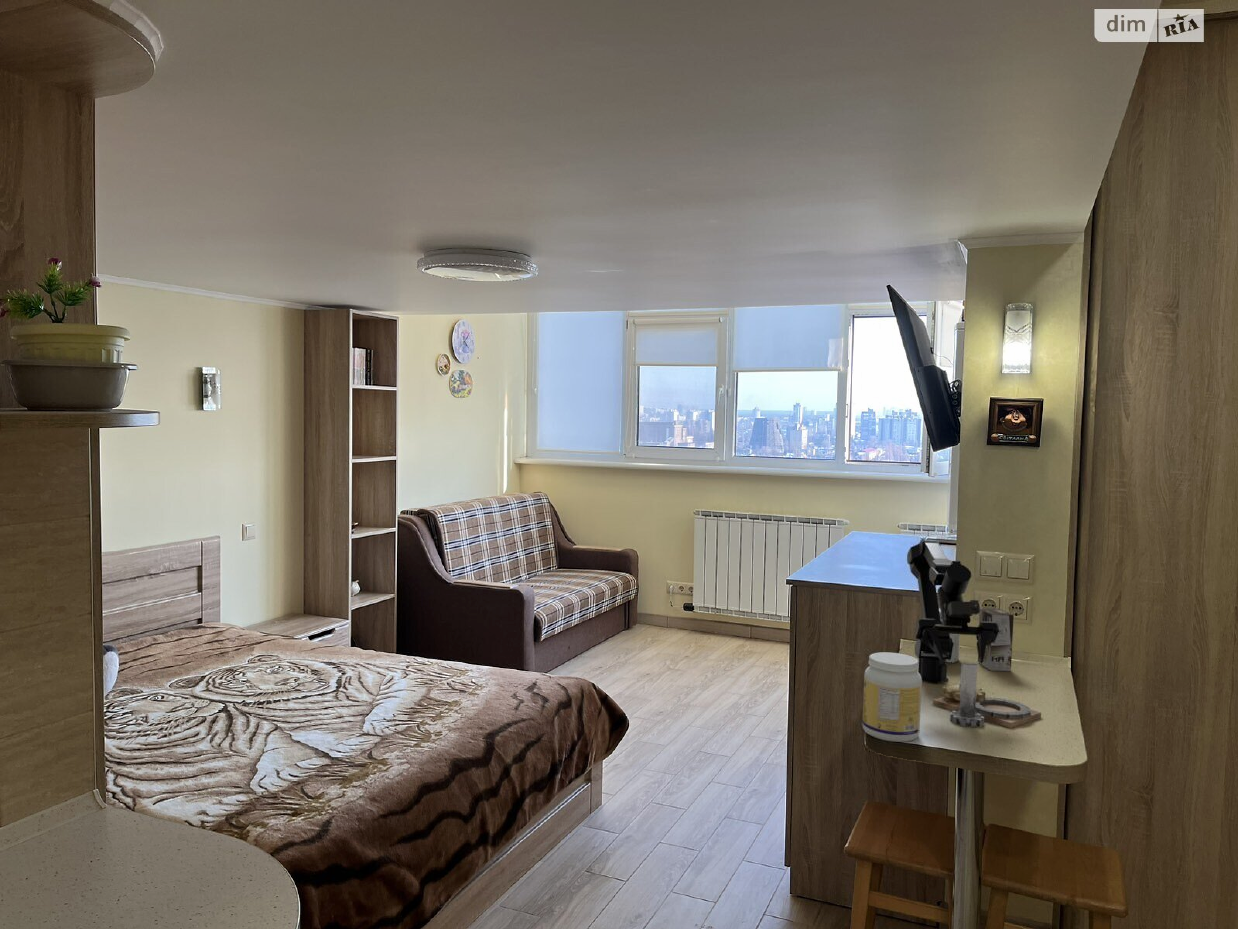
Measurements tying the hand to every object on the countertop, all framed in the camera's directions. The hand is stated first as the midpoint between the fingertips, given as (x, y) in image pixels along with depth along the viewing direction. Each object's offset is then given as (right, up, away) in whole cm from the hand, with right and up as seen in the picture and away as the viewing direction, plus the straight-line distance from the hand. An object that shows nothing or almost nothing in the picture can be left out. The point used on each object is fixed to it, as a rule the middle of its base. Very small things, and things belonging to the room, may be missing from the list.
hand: (961, 661), depth 209 cm
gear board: (+7, -13, +3) cm, 15 cm away
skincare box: (+14, -11, +51) cm, 54 cm away
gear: (-1, -13, -6) cm, 14 cm away
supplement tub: (-22, -13, -15) cm, 29 cm away
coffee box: (+27, -12, +44) cm, 53 cm away
